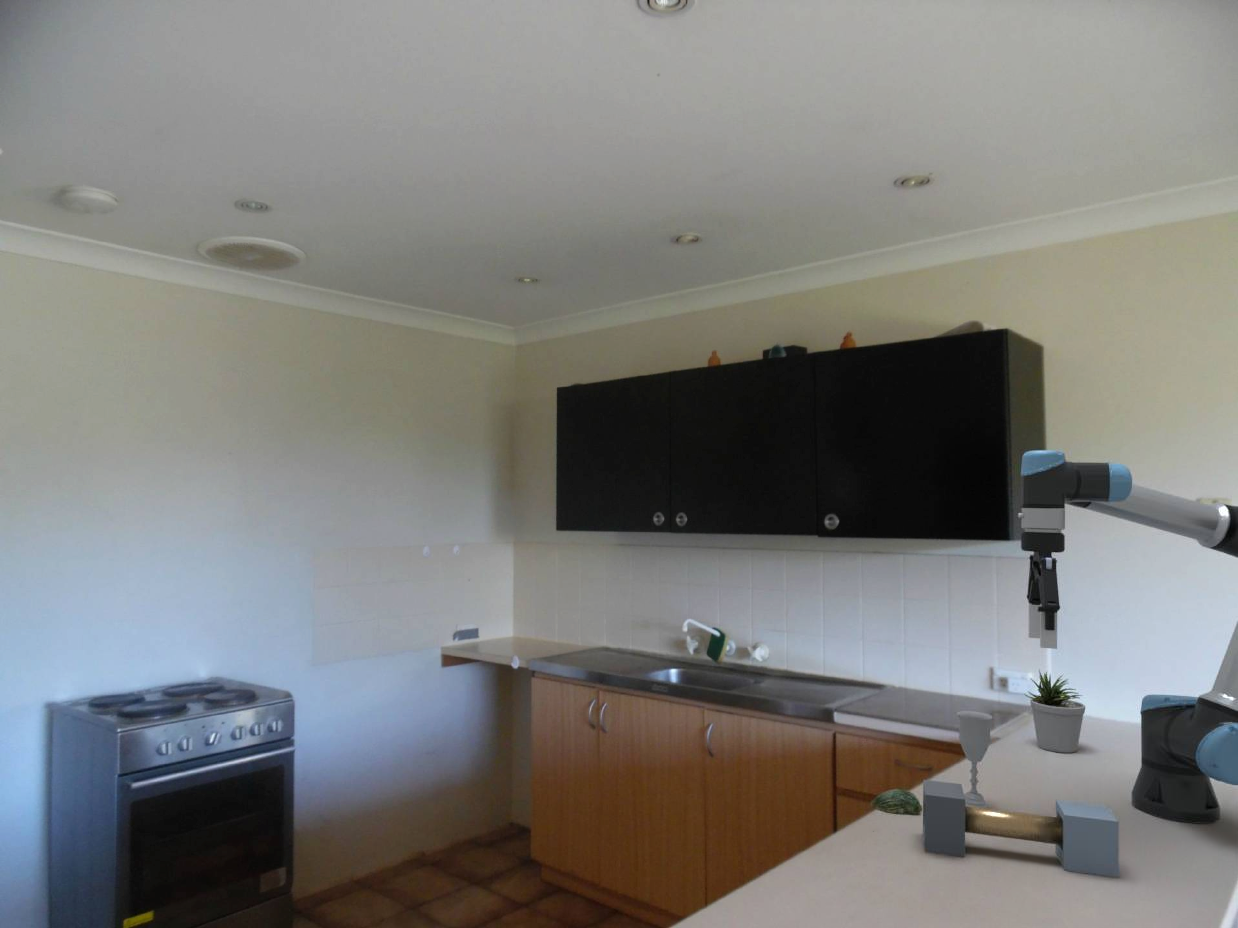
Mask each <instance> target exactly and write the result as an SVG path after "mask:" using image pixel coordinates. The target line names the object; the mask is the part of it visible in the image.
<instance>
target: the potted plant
mask: <svg viewBox="0 0 1238 928" xmlns="http://www.w3.org/2000/svg"><path fill="white" fill-rule="evenodd" d="M1038 673H1039V675H1038V676H1039V679H1040V682H1039V684H1038V683H1037V682H1036V681H1035V680H1034V679H1032V678H1031V677H1029V679H1030V680H1031V681H1032V682H1033V683H1034V684H1035V686H1036V687H1037V688H1038V689H1037V691H1038V693H1039V694H1037V695H1036V694H1034V693H1032V692H1031V691H1028V690H1027V693H1028V694H1029V695H1031V696H1029V695H1026V693H1024V696H1025V697H1028V698H1029V700H1030V708H1031V710H1032V715H1033V722H1034V728H1035V737H1036V743H1037V745H1038V746H1039V748H1041V749H1043V750H1045V751H1050V752H1054V753H1061V754H1062V753H1064V754H1070V753H1074V752H1077V750H1078V747H1079V741H1080V736H1081V731H1082V725H1083V719H1084V714H1085V711H1086V705H1085V704H1083V703H1081V702H1078V701H1075V700H1073V699H1081V697H1083V695H1081V694H1080V695H1079V692H1078V693H1077V692H1075V691H1076V690H1077V689H1075V688H1070V687H1069V688H1064V689H1062V688H1063V686H1065V685H1067V684H1068V680H1069V678H1066V679H1064V680H1063V678H1062V677H1063V675H1064V674H1062V675H1061V676H1059V677H1058V678H1057V679H1056V681H1055V682H1054V683H1053V685H1052V677H1051V675H1052V674H1049V677H1048V671H1045V672H1044V675H1042V673H1041V670H1040V669H1038ZM1060 681H1061V682H1060ZM1069 690H1070V691H1069ZM1071 690H1073V691H1071ZM1069 694H1072V695H1069ZM1032 696H1033V697H1032Z"/></svg>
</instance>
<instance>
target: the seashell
mask: <svg viewBox="0 0 1238 928" xmlns="http://www.w3.org/2000/svg"><path fill="white" fill-rule="evenodd" d="M870 806H871V807H872V808H874V809H875V810H878V811H880V812H882V813H887V814H893V815H901V816H903V815H913V816H919V815H920V813H921V812H922V811H923V805H921V803H920V800H919V798H918V797H917V796H916V794H915V793H913V792H911V791H909V790H907V789H902V788H901V789H900V788H894V789H889V790H886V791H884V792H881V793H880V794H879V795H877V796H876V797H875V798H874V799H872V800H871V801H870Z"/></svg>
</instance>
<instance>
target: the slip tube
mask: <svg viewBox="0 0 1238 928" xmlns="http://www.w3.org/2000/svg"><path fill="white" fill-rule="evenodd" d="M966 833H967V834H973V835H982V836H989V837H990V836H991V837H996V838H997V837H999V838H1006V839H1011V840H1021V841H1029V842H1034V843H1043V844H1050V845H1056V844H1057V845H1063V820H1062V818H1061V817H1056V816H1050V815H1043V814H1036V813H1026V812H1019V811H1010V810H1003V809H994V808H988V807H987V808H980V807H971V806H965V834H966Z"/></svg>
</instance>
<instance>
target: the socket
mask: <svg viewBox="0 0 1238 928" xmlns="http://www.w3.org/2000/svg"><path fill="white" fill-rule="evenodd" d="M922 785H923V786H922V787H923V789H922V791H923V793H922V798H923V799H922V839H923V849H924V853H931V854H932V853H933V854H939V855H945V856H952V857H953V856H954V857H961V858H966V832H965V796H964V795H965V793H964V789H963V786H962V783H956V782H946V781H936V780H928V779H923V784H922Z"/></svg>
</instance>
